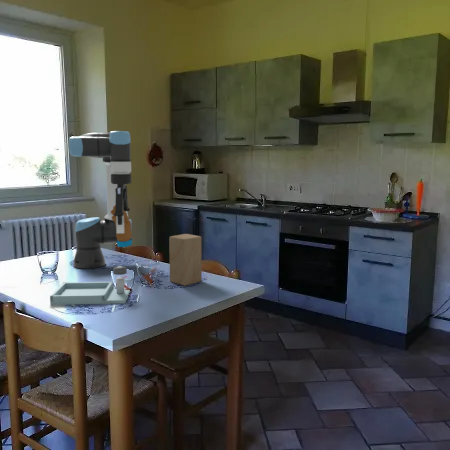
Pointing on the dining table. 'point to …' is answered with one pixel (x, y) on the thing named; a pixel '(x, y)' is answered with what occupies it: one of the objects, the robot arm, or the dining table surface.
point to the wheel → (119, 270)
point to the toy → (125, 237)
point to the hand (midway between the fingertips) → (122, 230)
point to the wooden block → (185, 259)
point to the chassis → (90, 293)
